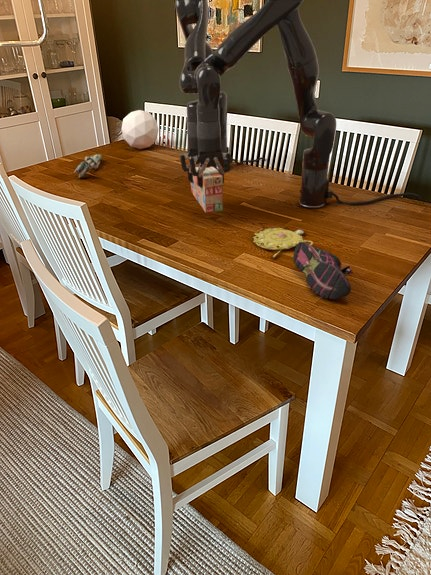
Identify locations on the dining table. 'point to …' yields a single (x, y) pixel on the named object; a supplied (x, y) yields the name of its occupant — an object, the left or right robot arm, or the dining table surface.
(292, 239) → the decorative object
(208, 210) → the stack of blocks
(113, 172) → the dining table surface
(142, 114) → the sphere
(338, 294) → the athletic shoe
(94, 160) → the figurine
